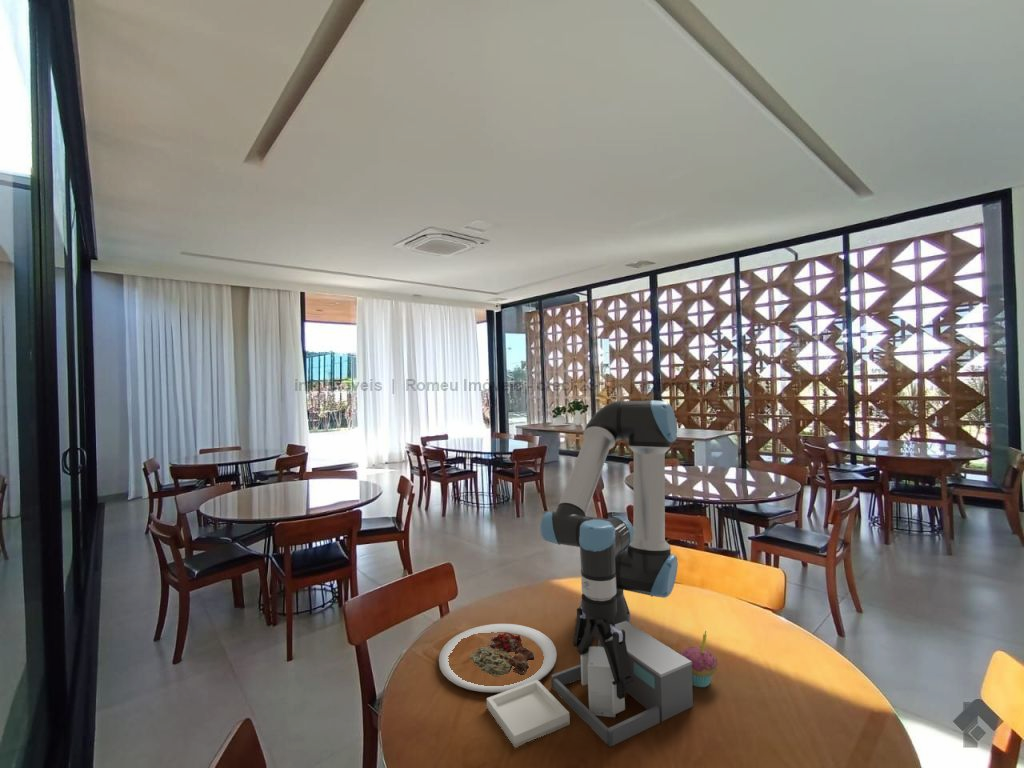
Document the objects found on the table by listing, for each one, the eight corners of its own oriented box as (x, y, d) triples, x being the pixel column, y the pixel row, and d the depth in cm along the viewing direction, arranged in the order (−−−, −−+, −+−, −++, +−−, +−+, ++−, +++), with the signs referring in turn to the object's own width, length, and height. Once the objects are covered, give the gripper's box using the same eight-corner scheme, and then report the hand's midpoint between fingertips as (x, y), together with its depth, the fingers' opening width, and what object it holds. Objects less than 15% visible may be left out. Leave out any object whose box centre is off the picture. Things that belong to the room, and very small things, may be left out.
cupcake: (716, 673, 112) (715, 623, 112) (719, 696, 104) (718, 641, 104) (678, 667, 115) (676, 618, 115) (678, 689, 107) (676, 636, 107)
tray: (486, 709, 102) (486, 698, 102) (537, 689, 108) (537, 679, 108) (514, 748, 91) (514, 736, 91) (569, 724, 97) (569, 712, 97)
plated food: (438, 707, 104) (438, 692, 104) (439, 636, 133) (438, 624, 133) (570, 689, 108) (570, 674, 108) (542, 625, 138) (542, 613, 138)
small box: (615, 718, 98) (614, 668, 98) (588, 716, 99) (587, 665, 99) (615, 694, 106) (613, 647, 106) (590, 691, 107) (588, 645, 107)
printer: (551, 688, 109) (550, 646, 109) (627, 658, 119) (625, 620, 119) (609, 747, 90) (608, 696, 90) (693, 706, 101) (691, 661, 101)
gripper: (555, 579, 111) (558, 674, 111) (620, 620, 91) (624, 736, 91) (581, 572, 114) (584, 664, 114) (649, 610, 94) (653, 721, 94)
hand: (602, 696), depth 103 cm, fingers open, 10 cm apart
